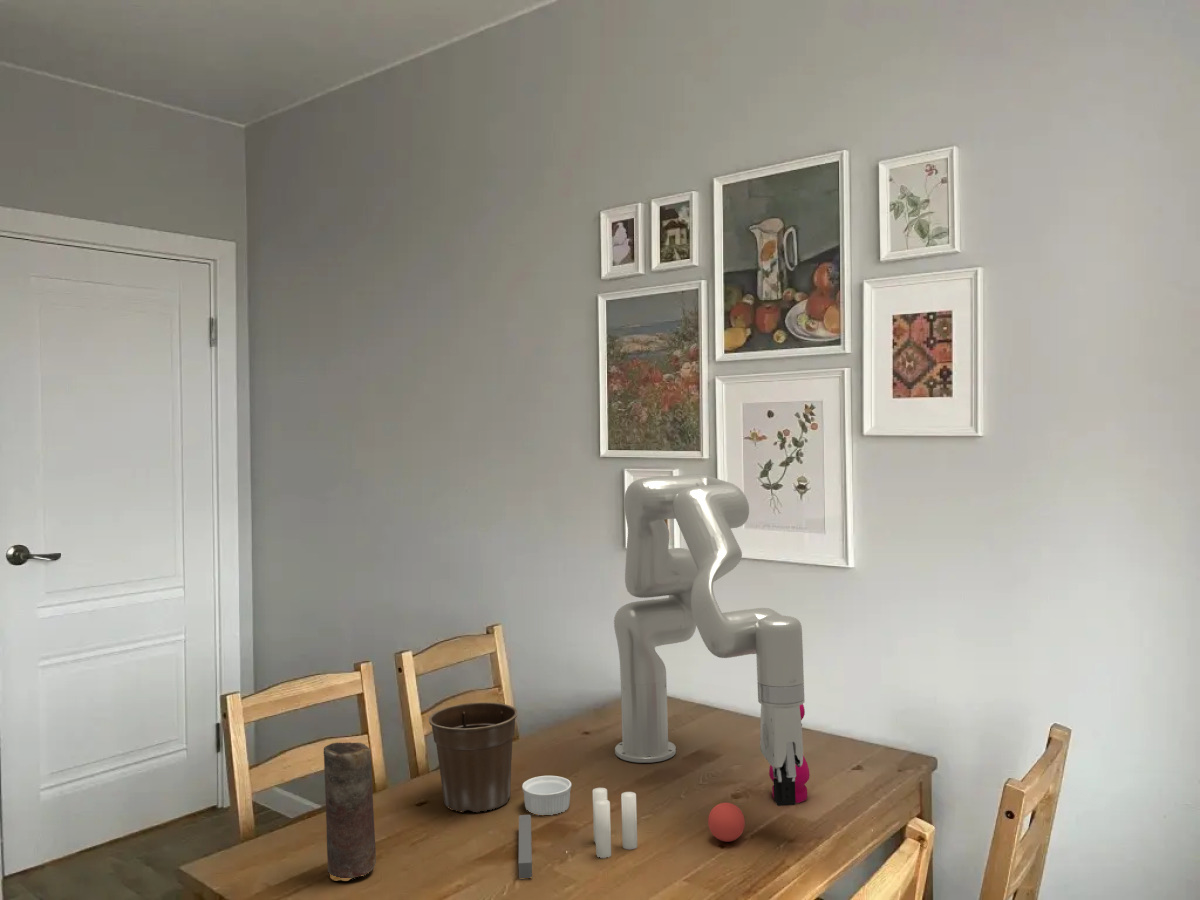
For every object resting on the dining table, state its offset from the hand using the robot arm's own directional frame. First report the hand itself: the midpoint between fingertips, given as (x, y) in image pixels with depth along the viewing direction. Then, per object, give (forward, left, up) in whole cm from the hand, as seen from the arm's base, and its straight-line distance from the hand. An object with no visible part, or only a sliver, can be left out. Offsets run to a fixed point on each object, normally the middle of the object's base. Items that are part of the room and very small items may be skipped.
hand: (784, 803), depth 160 cm
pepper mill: (-16, +5, -6) cm, 18 cm away
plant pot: (-23, -52, -6) cm, 57 cm away
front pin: (0, -26, -6) cm, 26 cm away
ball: (0, -10, -3) cm, 10 cm away
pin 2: (+2, -30, -6) cm, 31 cm away
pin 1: (-3, -30, -6) cm, 31 cm away
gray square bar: (0, -43, -6) cm, 43 cm away
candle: (+2, -70, -6) cm, 70 cm away
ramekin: (-18, -39, -6) cm, 43 cm away
